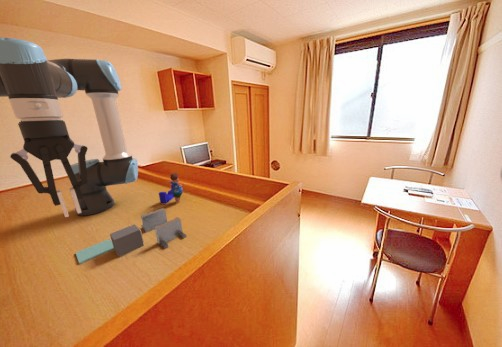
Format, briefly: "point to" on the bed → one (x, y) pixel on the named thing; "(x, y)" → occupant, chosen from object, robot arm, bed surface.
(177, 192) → the toy character
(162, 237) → the channel
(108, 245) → the mat
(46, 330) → the bed surface
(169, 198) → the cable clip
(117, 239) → the grey rectangular block
